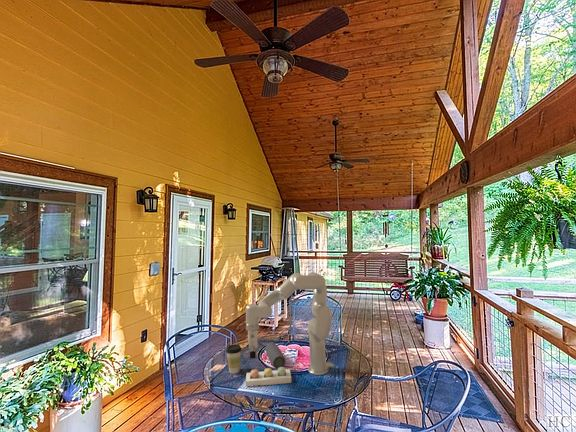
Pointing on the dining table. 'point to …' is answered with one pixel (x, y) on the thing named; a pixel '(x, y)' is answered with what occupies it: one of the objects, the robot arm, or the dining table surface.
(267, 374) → the button ochre
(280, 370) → the button sage
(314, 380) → the dining table surface
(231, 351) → the coffee cup
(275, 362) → the bluetooth speaker
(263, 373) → the console
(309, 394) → the dining table surface
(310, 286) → the robot arm
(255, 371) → the button terracotta
